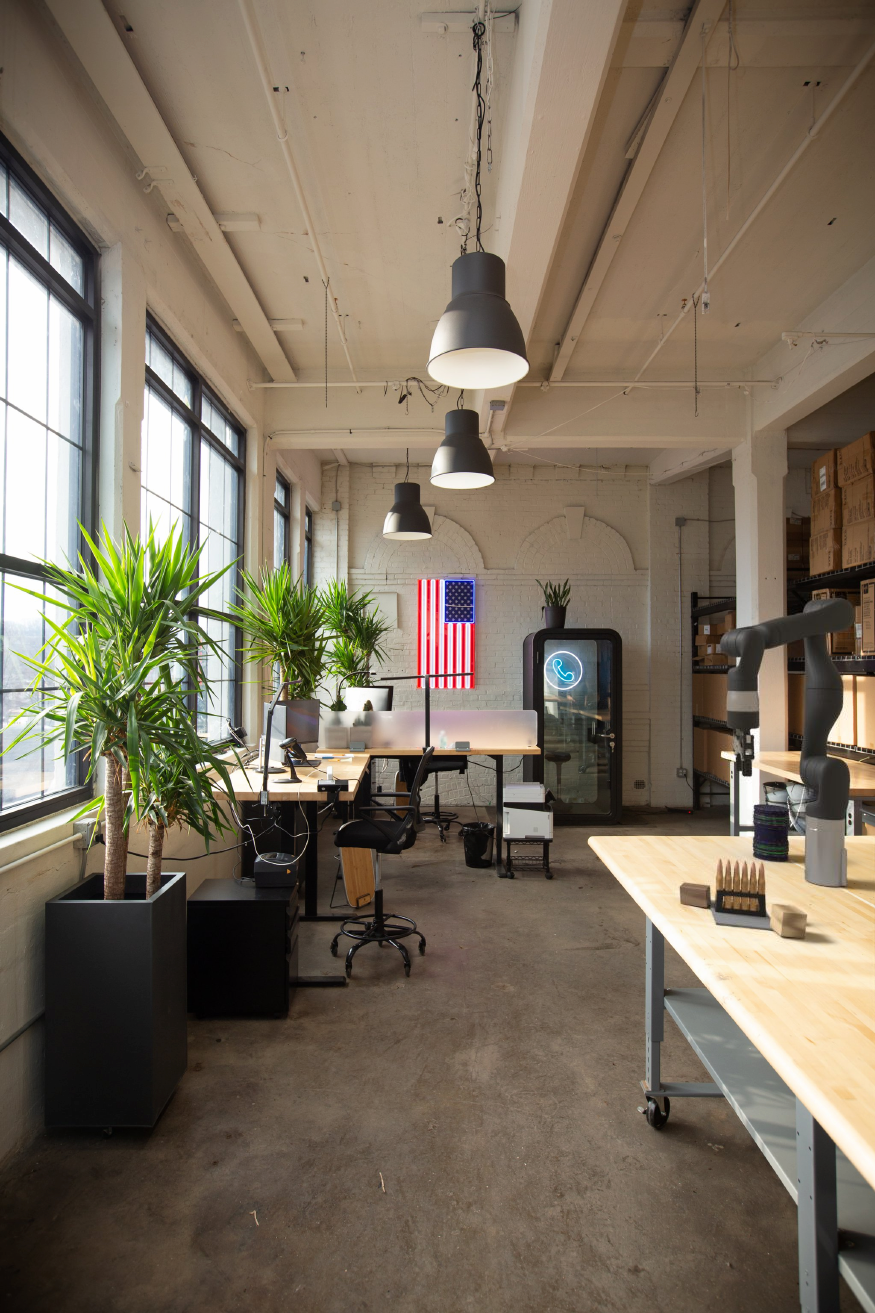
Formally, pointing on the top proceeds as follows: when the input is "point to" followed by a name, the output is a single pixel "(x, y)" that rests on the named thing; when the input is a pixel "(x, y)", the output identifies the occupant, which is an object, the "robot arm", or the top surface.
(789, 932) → the oak block
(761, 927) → the pad
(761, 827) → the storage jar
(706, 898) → the walnut block
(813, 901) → the top surface
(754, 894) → the ammunition clip
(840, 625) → the robot arm
